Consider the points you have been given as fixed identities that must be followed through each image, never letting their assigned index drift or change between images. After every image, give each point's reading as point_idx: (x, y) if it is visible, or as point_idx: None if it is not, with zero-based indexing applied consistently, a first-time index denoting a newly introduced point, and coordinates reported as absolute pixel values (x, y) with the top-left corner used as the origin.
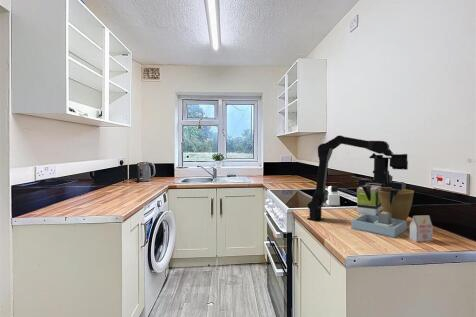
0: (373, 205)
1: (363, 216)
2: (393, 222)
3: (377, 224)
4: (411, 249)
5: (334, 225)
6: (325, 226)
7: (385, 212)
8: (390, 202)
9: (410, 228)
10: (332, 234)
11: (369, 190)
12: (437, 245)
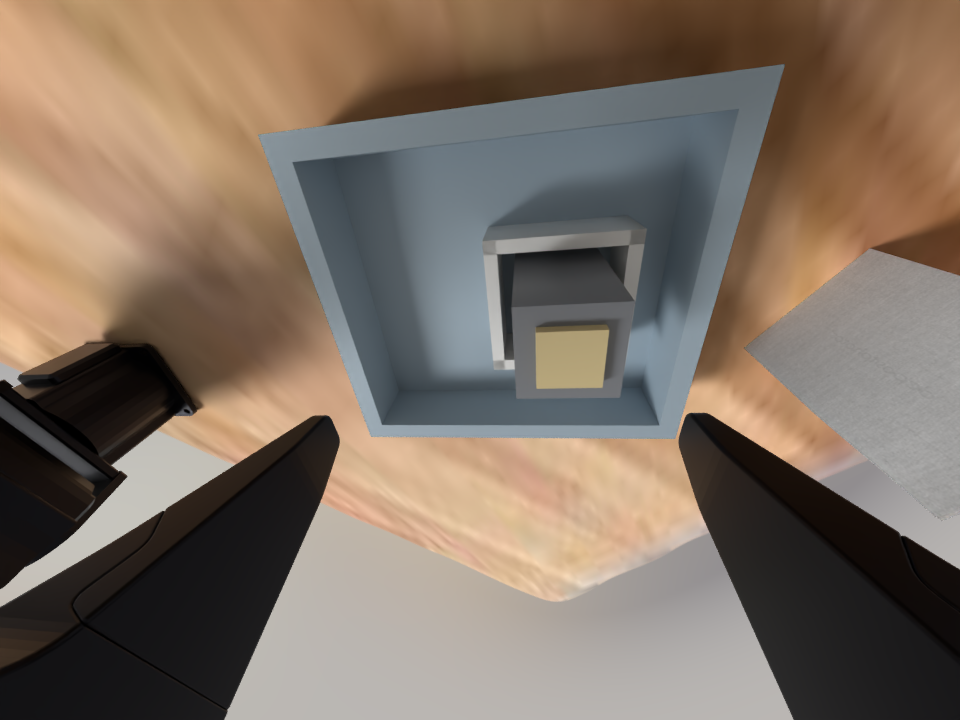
0: None
1: (331, 270)
2: (627, 245)
3: None
4: None
5: (298, 406)
6: None
7: (579, 365)
8: (701, 484)
9: (801, 400)
10: (406, 509)
11: (149, 649)
12: None
